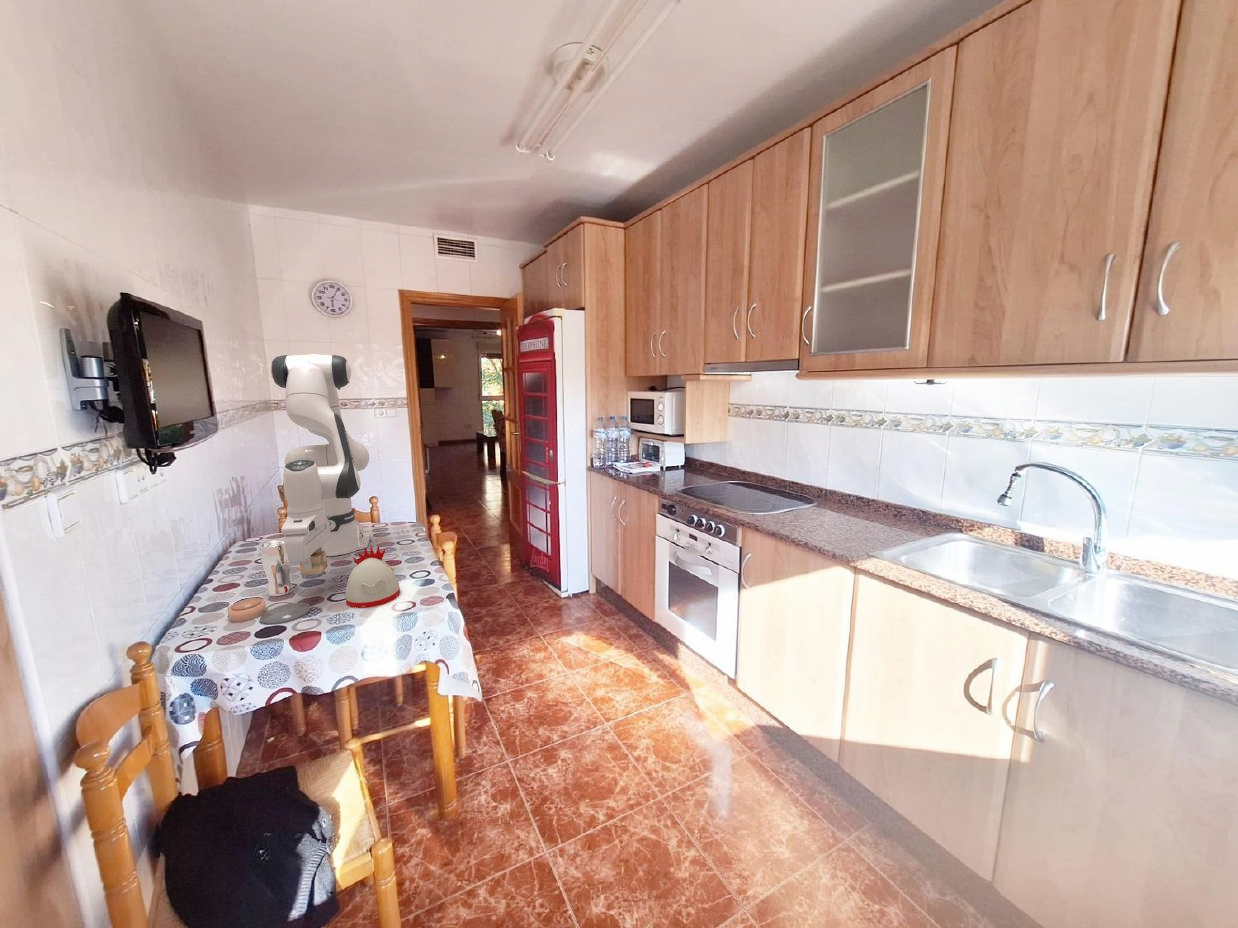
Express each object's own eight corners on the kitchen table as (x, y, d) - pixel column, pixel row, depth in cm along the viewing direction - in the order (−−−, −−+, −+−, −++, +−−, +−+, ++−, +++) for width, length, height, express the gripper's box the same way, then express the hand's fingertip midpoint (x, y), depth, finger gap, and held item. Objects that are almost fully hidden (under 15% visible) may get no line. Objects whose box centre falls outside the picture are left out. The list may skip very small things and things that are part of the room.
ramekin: (239, 610, 134) (237, 598, 133) (272, 607, 135) (270, 595, 135) (222, 624, 126) (220, 611, 125) (257, 620, 128) (255, 608, 127)
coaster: (273, 606, 135) (273, 604, 135) (317, 602, 137) (316, 600, 137) (252, 626, 124) (251, 624, 124) (300, 621, 126) (299, 619, 126)
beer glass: (301, 588, 147) (294, 540, 144) (279, 598, 140) (272, 548, 138) (282, 586, 149) (276, 538, 146) (260, 595, 142) (253, 546, 140)
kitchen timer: (402, 600, 138) (397, 549, 135) (346, 612, 131) (340, 559, 128) (397, 583, 149) (392, 536, 147) (345, 593, 143) (339, 544, 140)
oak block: (308, 568, 142) (306, 551, 141) (327, 566, 143) (325, 550, 142) (301, 575, 138) (298, 558, 137) (320, 573, 138) (318, 556, 137)
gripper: (310, 508, 147) (316, 552, 149) (277, 531, 127) (285, 581, 130) (333, 507, 148) (338, 550, 151) (304, 529, 128) (311, 578, 131)
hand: (313, 565), depth 140 cm, fingers closed on oak block, 5 cm apart
